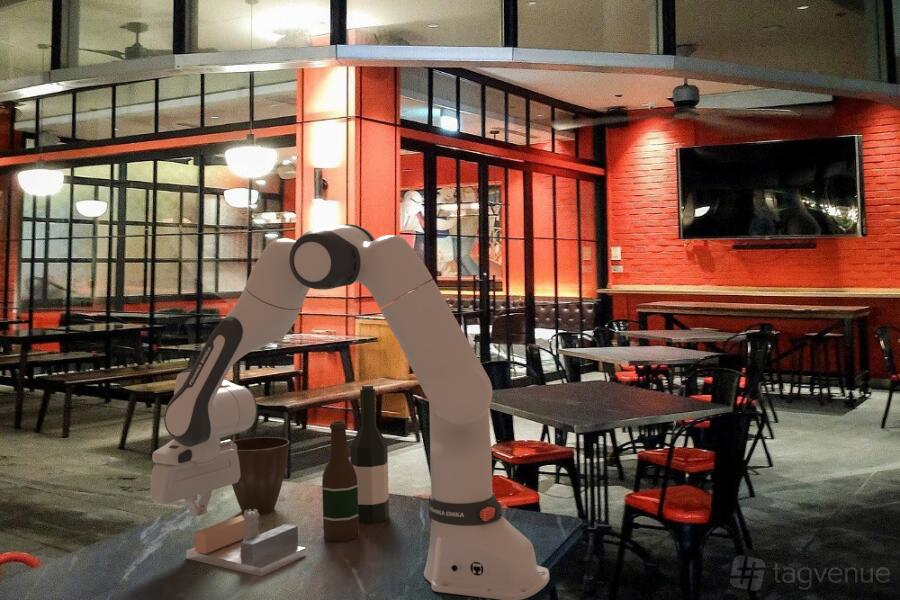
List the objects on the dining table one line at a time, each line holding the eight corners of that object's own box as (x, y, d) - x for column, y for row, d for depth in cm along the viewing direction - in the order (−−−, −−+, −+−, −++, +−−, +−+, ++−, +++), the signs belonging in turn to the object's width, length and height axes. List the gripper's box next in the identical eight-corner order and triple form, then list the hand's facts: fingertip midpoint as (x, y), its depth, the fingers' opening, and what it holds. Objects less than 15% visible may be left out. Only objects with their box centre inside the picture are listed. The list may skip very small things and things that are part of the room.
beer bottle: (352, 543, 152) (349, 426, 152) (316, 541, 154) (313, 425, 154) (364, 531, 160) (361, 419, 160) (330, 529, 162) (327, 418, 161)
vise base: (306, 555, 146) (305, 527, 146) (261, 576, 136) (260, 546, 136) (233, 539, 156) (232, 513, 156) (186, 558, 146) (185, 530, 146)
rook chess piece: (251, 557, 141) (250, 515, 141) (235, 553, 144) (233, 512, 144) (269, 550, 145) (267, 509, 145) (252, 546, 148) (251, 506, 147)
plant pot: (289, 498, 186) (287, 434, 186) (293, 516, 172) (291, 446, 172) (226, 505, 182) (224, 439, 182) (225, 523, 168) (223, 452, 168)
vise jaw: (252, 535, 154) (251, 517, 154) (205, 553, 143) (205, 534, 143) (241, 533, 155) (241, 515, 155) (194, 551, 145) (194, 532, 145)
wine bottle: (396, 515, 170) (393, 384, 170) (373, 525, 163) (370, 388, 163) (367, 510, 175) (364, 382, 175) (344, 520, 168) (341, 386, 167)
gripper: (225, 436, 163) (226, 500, 163) (144, 455, 145) (146, 526, 145) (246, 439, 159) (247, 504, 160) (166, 458, 142) (167, 531, 142)
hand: (198, 514), depth 152 cm, fingers closed
